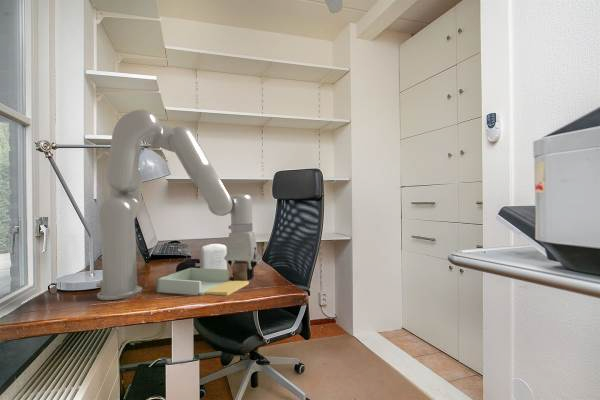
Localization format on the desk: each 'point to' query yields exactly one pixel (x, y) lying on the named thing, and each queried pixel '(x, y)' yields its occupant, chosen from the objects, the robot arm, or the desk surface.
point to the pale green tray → (192, 281)
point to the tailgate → (227, 288)
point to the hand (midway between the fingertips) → (243, 278)
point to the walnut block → (240, 270)
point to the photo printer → (213, 256)
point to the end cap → (187, 264)
